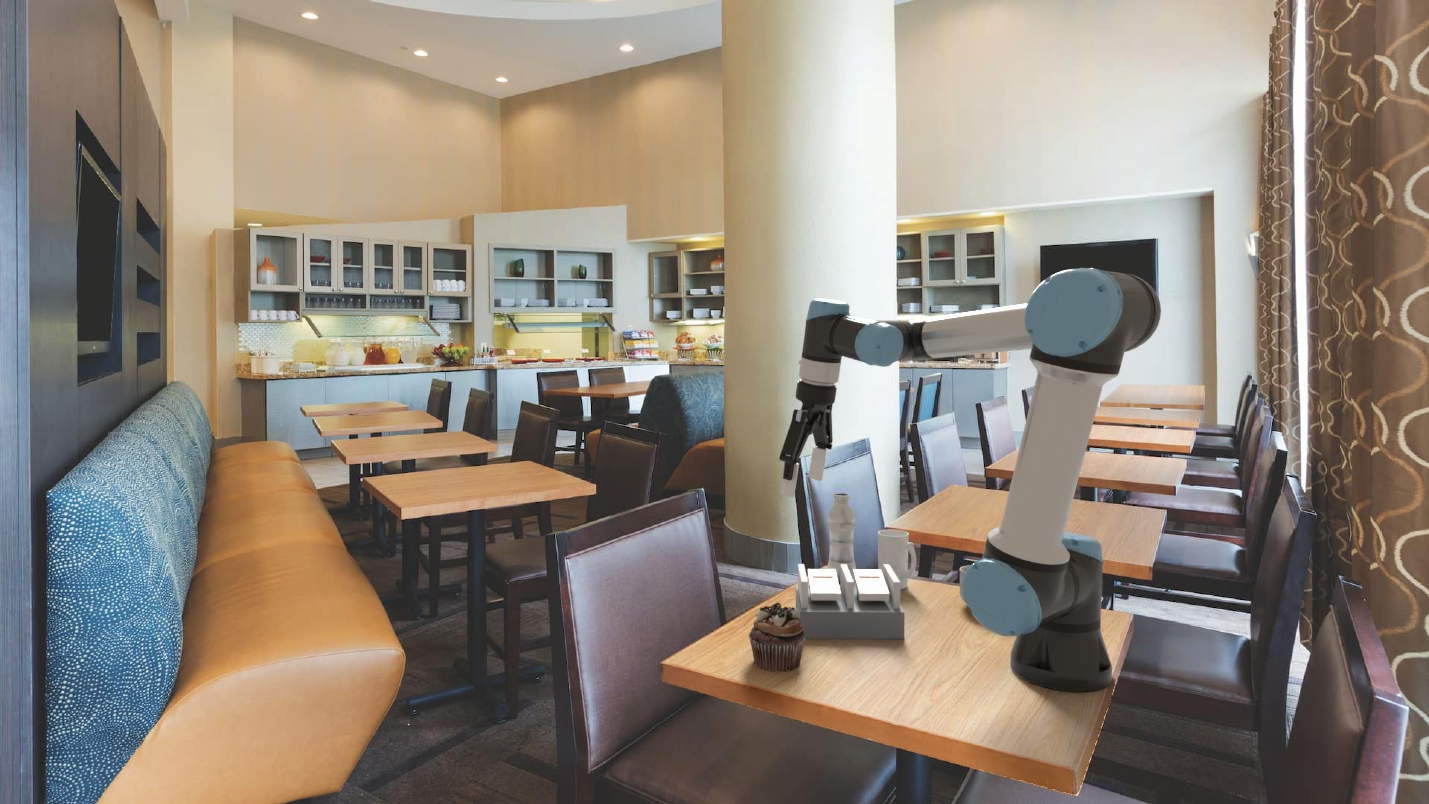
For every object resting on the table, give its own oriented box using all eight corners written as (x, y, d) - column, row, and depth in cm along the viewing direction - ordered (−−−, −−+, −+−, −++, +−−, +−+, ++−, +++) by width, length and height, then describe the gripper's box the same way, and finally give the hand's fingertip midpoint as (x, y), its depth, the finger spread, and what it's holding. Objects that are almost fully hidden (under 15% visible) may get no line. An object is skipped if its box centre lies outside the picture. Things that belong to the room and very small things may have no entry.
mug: (871, 584, 175) (871, 532, 174) (892, 579, 178) (892, 528, 177) (904, 596, 166) (904, 541, 165) (926, 590, 170) (926, 536, 169)
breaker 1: (840, 600, 145) (840, 592, 144) (811, 600, 145) (811, 592, 145) (835, 576, 155) (835, 568, 154) (807, 576, 155) (807, 568, 154)
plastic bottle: (835, 586, 174) (834, 498, 172) (822, 577, 180) (822, 492, 179) (861, 583, 175) (861, 496, 174) (847, 575, 182) (847, 491, 181)
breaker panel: (904, 639, 142) (904, 585, 141) (800, 638, 143) (799, 585, 142) (889, 609, 157) (889, 561, 157) (795, 609, 159) (795, 561, 158)
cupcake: (815, 658, 133) (814, 601, 133) (789, 678, 125) (788, 618, 125) (766, 647, 139) (765, 592, 138) (738, 666, 130) (737, 608, 130)
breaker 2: (889, 600, 144) (889, 592, 144) (859, 600, 145) (859, 592, 144) (880, 576, 154) (881, 568, 154) (852, 576, 154) (853, 568, 154)
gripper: (824, 370, 159) (809, 468, 164) (771, 385, 138) (755, 496, 143) (858, 377, 156) (842, 477, 160) (809, 393, 134) (792, 508, 139)
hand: (801, 486), depth 151 cm, fingers open, 13 cm apart
